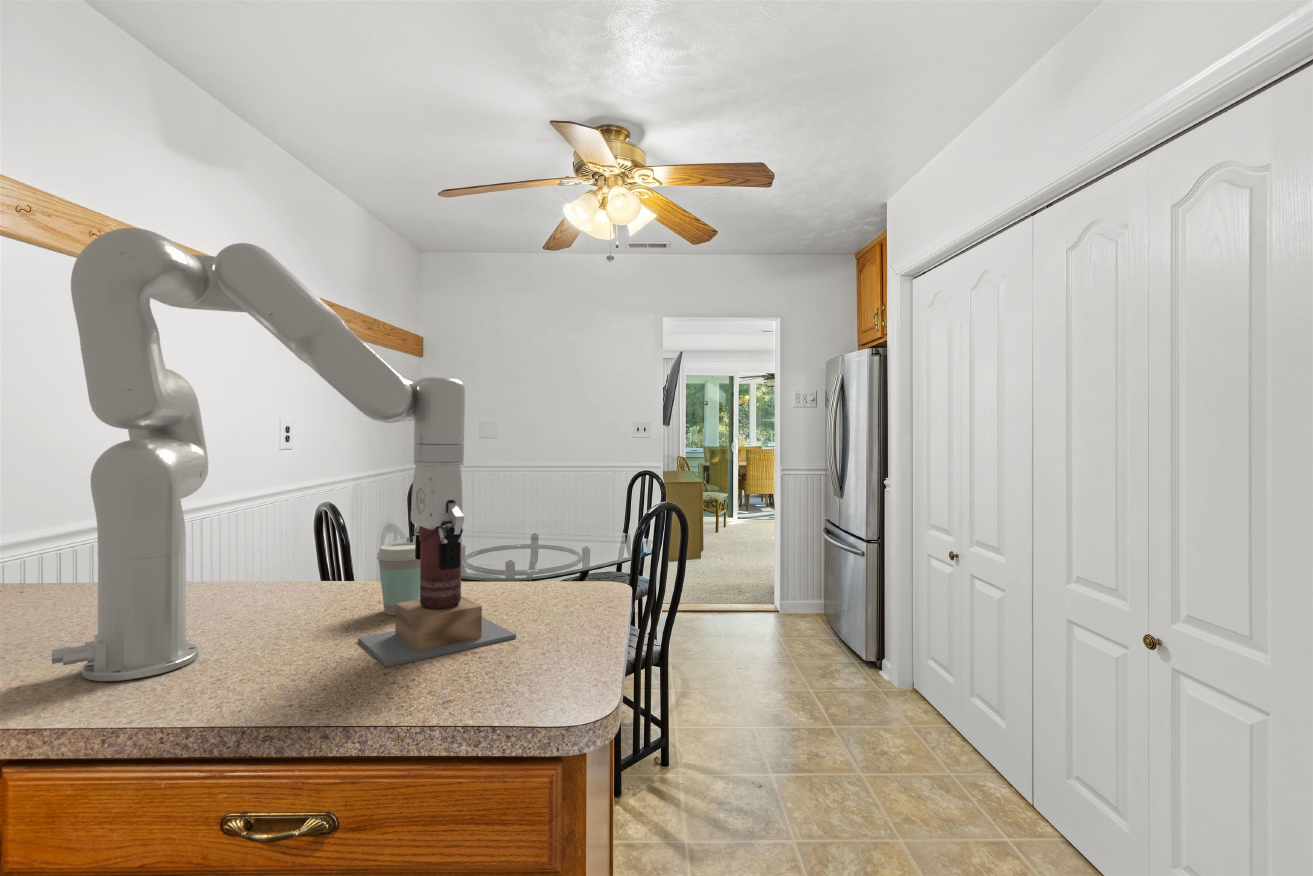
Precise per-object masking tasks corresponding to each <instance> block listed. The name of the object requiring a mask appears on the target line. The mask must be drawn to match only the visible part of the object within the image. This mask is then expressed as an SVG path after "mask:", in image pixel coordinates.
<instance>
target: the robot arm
mask: <svg viewBox="0 0 1313 876" xmlns="http://www.w3.org/2000/svg"><path fill="white" fill-rule="evenodd" d="M70 277H71V278H70V291H71V292H70V293H71V300H72V304H73V311H74V315H75V320H76V325H77V329H78V330H77V331H78V337H79V344H80V353H81V356H82V357H81V358H82V364H83V369H84V370H83V371H84V375H85V381H86V382H85V383H86V388H87V397H88V401H89V405H90V408H91V411H92V413H93V414H94V415H95V416H96V418H97V419H98V420H100V421H101V422H102V423H104V424H105V425H108V426H110V427H112V428H117V429H123V430H127V431H128V437H129V439H128V440H125V441H120V442H119V443H116V444H114V445H112V446H110V447H109V448H108V449H106V450H105V451H103V453H102V454H100V455H99V457H98V458H97V459H96V460H95V463H94V464H93V467H92V469H91V473H90V491H91V497H92V498H91V499H92V503H93V506H94V511H95V518H96V519H95V520H96V527H97V528H96V531H97V634H95V635H94V640H91V641H85V642H84V644H83V645H78V646H77V645H76V646H72V647H71V646H66V647H59V648H53V649H51V665H56V664H62V666H68V665H69V666H70V665H74V664H77V663H83V662H86V663H84V664H83V665H82V667H81V675H82V677H83V678H84V679H86V680H90V681H95V682H119V681H120V682H121V681H128V680H129V681H131V680H134V679H142V678H147V677H153V676H157V675H160V674H164V673H168V672H171V671H174V670H177V669H180V668H183V667H185V666H187V665H189V664H191V663H192V662H194V661H195V660H196V659H197V658H198V657H199V655H200V654H199V653H200V652H199V651H200V648H199V646H198V645H196V644H194V643H190V642H186V630H187V629H186V626H187V625H186V622H187V621H186V620H187V619H186V617H187V616H186V610H187V609H186V607H187V605H186V604H187V601H186V600H187V599H186V597H187V596H186V595H187V594H186V593H187V583H186V582H187V581H186V580H187V547H186V545H187V543H186V542H187V539H186V538H187V536H186V535H187V533H186V532H187V531H186V522H185V517H184V511H183V506H182V501H181V500H182V499H184V498H187V497H189V496H191V495H193V494H194V493H196V492H197V491H199V490H200V488H201V487H202V486H203V485H204V483H205V482H206V479H207V477H208V472H209V457H208V451H207V445H206V444H207V443H206V439H205V438H206V437H205V431H204V427H203V426H204V425H203V421H202V415H201V409H200V404H199V399H198V397H197V394H196V392H195V390H194V388H193V386H192V385H191V383H190V382H189V381H188V380H187V379H186V378H185V377H183V376H182V375H181V374H179V373H177V372H176V371H174V370H171V369H169V368H167V367H166V364H165V360H164V357H163V351H162V347H161V336H160V331H159V328H158V325H157V322H156V320H155V317H154V315H153V312H152V308H151V299H152V300H153V301H157V302H159V303H161V304H164V305H166V306H170V307H173V308H179V309H186V310H187V309H190V310H201V311H202V310H203V311H219V312H232V313H247V314H248V315H250V316H251V317H252V318H253V319H254V320H255V321H256V322H257V323H259V324H260V325H261V326H262V327H263V328H264V329H266V330H267V331H268V332H269V333H270V334H271V335H272V336H273V337H274V338H276V339H277V340H278V341H279V342H280V343H281V344H282V345H283V346H285V347H286V348H287V349H288V350H289V351H290V352H291V353H293V354H294V356H296V357H297V359H298V360H300V361H301V362H303V363H305V364H306V365H307V366H309V367H310V368H311V369H312V370H313V371H314V372H316V373H317V374H318V376H320V378H322V379H323V380H324V381H325V382H327V383H328V384H329V385H330V386H331V387H332V388H333V389H335V391H336V392H338V393H339V394H340V395H341V396H342V397H344V398H345V400H347V401H348V402H349V403H350V404H352V406H354V407H355V408H356V409H357V410H358V411H360V412H361V414H363V415H364V416H365V417H367V418H369V419H371V420H374V421H376V422H381V423H387V424H395V423H403V422H414V424H413V426H414V427H413V428H414V429H413V465H415V467H414V471H413V481H412V492H411V505H410V522H411V523H412V524H413V525H414V526H415V527H414V533H415V540H414V541H415V542H414V543H415V558H416V559H418V560H419V559H420V540H419V526H420V527H423V528H425V529H428V530H434V529H435V528H436V527H437V528H438V531H439V535H440V538H441V542H442V543H439V558H438V568H439V569H440V570H447V569H455V568H459V567H460V542H461V543H462V541H463V540H462V539H463V537H462V534H463V532H464V530H463V529H464V528H463V526H464V522H465V516H464V514H463V484H462V483H463V480H462V469H461V466H463V465H465V464H464V461H465V459H464V456H465V452H464V451H465V415H466V414H465V410H466V408H465V407H466V405H465V404H466V402H465V401H466V388H465V384H464V383H463V381H462V380H459V379H457V378H452V377H441V376H439V377H437V376H428V377H423V378H419V379H411V378H405V377H402V376H401V375H400V374H399V373H398V372H397V371H396V370H394V369H393V368H392V367H391V366H390V365H389V364H388V363H387V362H385V361H384V360H383V358H381V357H380V356H379V355H378V354H377V353H376V352H375V351H374V350H372V349H371V348H370V347H369V346H368V345H367V344H365V343H364V342H363V340H361V338H359V337H358V336H357V335H356V334H355V333H354V332H353V331H352V330H351V329H350V328H349V327H348V325H347V324H346V323H345V322H344V320H343V318H341V316H339V314H337V312H335V311H334V309H332V308H331V307H330V306H329V305H328V304H326V303H325V302H324V301H323V300H322V299H321V298H320V297H318V295H317V294H315V293H314V292H313V291H312V290H311V289H310V288H309V287H308V286H307V285H305V284H304V283H303V282H302V281H301V280H300V279H299V278H298V277H297V276H295V275H294V274H293V273H292V272H291V271H290V270H289V269H288V268H287V267H286V266H285V265H284V264H283V263H281V261H279V260H278V259H277V258H276V257H275V256H273V255H272V254H271V253H270V252H268V251H267V250H265V249H264V248H262V247H260V246H258V245H256V244H251V243H245V242H238V243H232V244H230V245H228V246H225V247H224V248H223V249H221V250H220V251H219V252H218V253H217V254H216V255H215V256H213V255H205V254H204V255H202V254H194V253H190V252H188V251H187V250H186V249H185V248H183V247H181V246H180V245H178V244H177V243H175V242H174V241H172V240H171V239H169V238H168V237H166V236H163V235H161V234H159V233H157V232H155V231H152V230H148V229H146V228H138V227H124V228H117V229H112V230H110V231H107V232H105V233H103V234H101V235H99V236H97V237H96V238H94V239H93V240H91V241H90V242H89V243H88V244H86V246H85V247H84V248H83V249H82V250H81V252H80V253H79V255H78V256H77V258H76V260H75V262H74V264H73V267H72V271H71V276H70ZM445 522H452V523H445ZM442 523H444V524H442ZM445 530H448V532H447V534H446V531H445Z"/></svg>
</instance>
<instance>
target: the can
mask: <svg viewBox="0 0 1313 876" xmlns="http://www.w3.org/2000/svg"><path fill="white" fill-rule="evenodd" d="M445 523H452V522H445ZM442 524H444V523H442ZM445 531H446V534H447V532H448V530H445ZM418 535H419V540H420V603H421V605H422V607H423V608H426V609H446V608H451V607H454V606H456V605H458V604H459V602H460V600H461V596H462V541H461V542H460V567H459V568H455V569H447V570H440V569H439V568H438V558H439V543H442V542H441V538H440V535H439V531H438V528H437V527H436V528H435V529H434V530H428V529H425V528H423V527H420V526H419V534H418Z"/></svg>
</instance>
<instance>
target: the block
mask: <svg viewBox="0 0 1313 876" xmlns="http://www.w3.org/2000/svg"><path fill="white" fill-rule="evenodd" d="M482 606H483V605H481V604H479V603H476V602H474V601H472V600H470V599H469V598H466V597H464V596H462V595H461V600H460V602H459V604H458V605H456V606H454V607H451V608H446V609H426V608H423V607H422V605H421V603H420V599H419V600H412V601H406V602H400V603H395V615H394V616H395V617H394V618H395V619H394V621H395V624H394V625H395V626H394V631H395V635H397V636H398V637H399V638H401V639H402V640H403V641H405V642H406V643H407V644H409V645H410V646H411V647H413V648H414V649H415V650H417V651H422V650H426V649H431V648H436V647H440V646H445V645H449V644H454V643H459V642H463V641H468V640H473V639H477V638H481V636H482V617H483V616H482V614H483V613H482V612H483V611H482V609H483V608H482Z"/></svg>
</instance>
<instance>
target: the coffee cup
mask: <svg viewBox="0 0 1313 876" xmlns="http://www.w3.org/2000/svg"><path fill="white" fill-rule="evenodd" d="M376 555H377V557H376V559H377V560H378V566H379V567H378V568H379V574H380V575H379V577H380V585H381V595H382V602H383V609H384V614H386V615H387V616H395V603H400V602H406V601H412V600H419V599H420V559H419V560H418V559H416V558H415V542H395V543H389V544H384V545H382V546H380V547H379V549H378V552H377V554H376Z"/></svg>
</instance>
